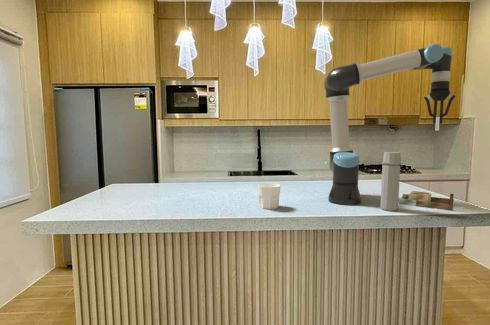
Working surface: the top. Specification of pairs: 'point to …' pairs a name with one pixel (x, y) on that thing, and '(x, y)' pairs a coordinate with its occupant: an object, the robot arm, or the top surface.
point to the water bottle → (390, 181)
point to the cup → (269, 195)
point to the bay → (435, 202)
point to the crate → (420, 196)
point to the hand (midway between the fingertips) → (437, 130)
